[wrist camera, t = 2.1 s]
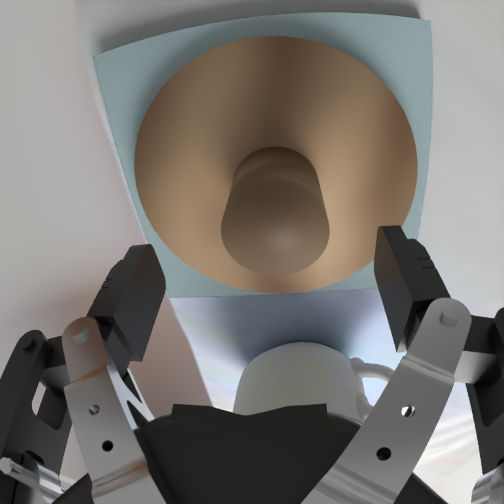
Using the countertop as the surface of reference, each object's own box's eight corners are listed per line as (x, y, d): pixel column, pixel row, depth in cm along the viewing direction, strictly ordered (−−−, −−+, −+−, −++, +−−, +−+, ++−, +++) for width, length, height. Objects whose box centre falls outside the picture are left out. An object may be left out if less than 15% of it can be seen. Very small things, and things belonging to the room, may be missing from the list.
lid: (412, 36, 11) (468, 42, 7) (395, 274, 19) (417, 336, 15) (113, 69, 13) (52, 89, 9) (179, 286, 21) (159, 347, 17)
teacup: (269, 396, 32) (264, 466, 25) (213, 341, 26) (197, 429, 20) (401, 364, 27) (415, 440, 21) (382, 292, 21) (407, 391, 15)
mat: (422, 20, 11) (430, 20, 10) (403, 275, 20) (406, 285, 19) (102, 54, 13) (93, 56, 12) (173, 287, 22) (169, 297, 22)
